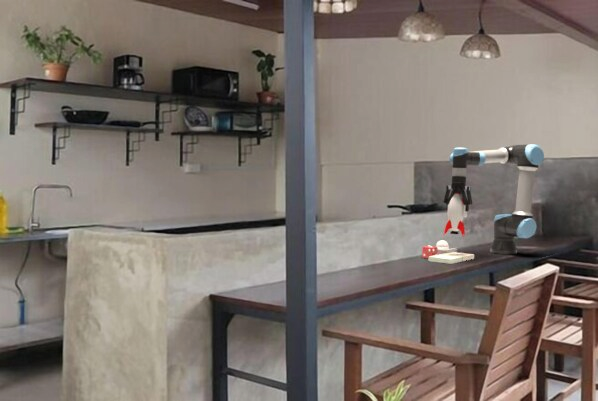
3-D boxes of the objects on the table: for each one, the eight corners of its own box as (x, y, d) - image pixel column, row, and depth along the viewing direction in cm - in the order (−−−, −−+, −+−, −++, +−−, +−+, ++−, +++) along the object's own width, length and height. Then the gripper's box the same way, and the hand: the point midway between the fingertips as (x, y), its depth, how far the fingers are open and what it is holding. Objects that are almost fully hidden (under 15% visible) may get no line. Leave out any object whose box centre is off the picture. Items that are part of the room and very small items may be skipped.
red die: (427, 256, 361) (428, 244, 360) (438, 257, 356) (438, 246, 356) (421, 257, 356) (421, 245, 355) (432, 258, 351) (432, 247, 351)
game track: (452, 256, 363) (452, 252, 363) (474, 259, 354) (474, 254, 354) (428, 261, 343) (428, 256, 343) (450, 264, 334) (450, 259, 334)
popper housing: (438, 253, 375) (438, 246, 375) (456, 255, 367) (456, 248, 367) (427, 255, 366) (427, 248, 366) (446, 257, 358) (446, 250, 358)
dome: (439, 252, 372) (440, 239, 371) (450, 253, 367) (451, 240, 367) (433, 253, 366) (433, 240, 366) (444, 254, 362) (445, 241, 361)
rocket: (463, 237, 346) (467, 191, 345) (443, 235, 349) (447, 189, 348) (464, 235, 357) (468, 190, 355) (445, 233, 360) (449, 189, 359)
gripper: (438, 175, 355) (436, 215, 356) (474, 176, 340) (471, 218, 341) (444, 175, 360) (442, 215, 361) (480, 176, 346) (478, 218, 347)
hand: (457, 216), depth 351 cm, fingers open, 9 cm apart
